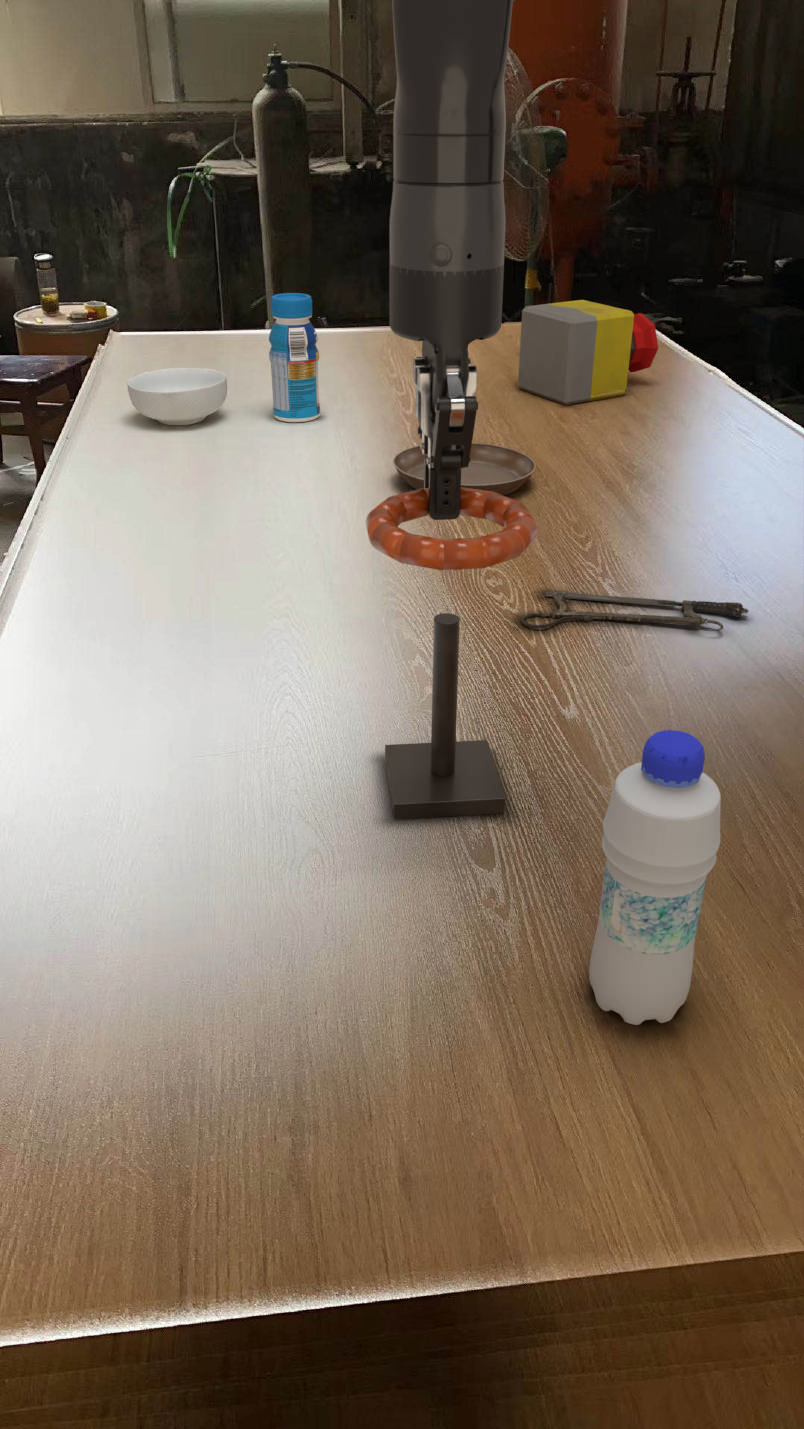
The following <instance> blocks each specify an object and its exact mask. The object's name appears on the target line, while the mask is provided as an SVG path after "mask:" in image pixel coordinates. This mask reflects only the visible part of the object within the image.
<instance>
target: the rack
mask: <svg viewBox="0 0 804 1429" xmlns="http://www.w3.org/2000/svg"><path fill="white" fill-rule="evenodd" d="M460 621H461V619H460V616H458V615H457V614H454V613H451V612H442V613H438V614H436V615H434V617H433V631H432V632H433V638H432V687H431V688H432V689H431V690H432V691H431V693H432V695H431V735H430V736H431V737H430V739H431V742H417V743H398V744H397V743H393V744H385V745H384V762H385V763H384V764H385V769H386V773H387V774H386V775H387V782H388V789H389V796H390V802H391V809H392V817H393V819H394V820H404V819H405V820H406V819H407V820H408V819H425V818H444V817H462V816H481V815H482V816H483V815H498V814H500V815H501V814H505V810H506V796H505V793H504V790H503V786H502V783H501V780H500V777H499V774H498V770H497V767H496V765H495V760H494V757H493V754H492V751H491V748H490V744H489V741H488V739H483V740H481V739H479V740H459V741H457V718H458V717H457V714H458V685H459V683H458V682H459V653H460V652H459V651H460V625H461V624H460Z"/></svg>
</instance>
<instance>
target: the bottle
mask: <svg viewBox="0 0 804 1429" xmlns="http://www.w3.org/2000/svg"><path fill="white" fill-rule="evenodd" d="M642 749H643V750H642V756H641V761H640V762H636V763H634V764H631V765H628V766H627V767H625V768H624V769H623V770H622V771H620V773H619V774H617V777H616V779H615V781H614V784H613V788H612V792H611V795H610V799H609V802H608V806H607V810H606V812H605V815H604V818H603V821H602V831H603V835H602V838H601V846H602V847H601V848H602V851H603V854H604V855H605V863H604V871H603V880H602V888H601V895H600V902H599V903H600V904H599V913H598V921H597V927H596V930H595V936H594V940H593V943H592V950H591V953H590V960H589V968H588V978H589V979H588V981H589V985H590V986H591V988H592V991H593V994H594V997H595V1002H596V1004H597V1005H598V1007H599V1008H600V1009H601V1010H602V1011H604V1012H609V1011H613V1012H615V1013H617V1014H619V1015H620V1016H621V1018H622V1019H623V1021H624V1022H625V1023H627V1024H630V1025H634V1026H639V1025H641V1024H642V1023H643V1022H644V1021H648V1020H649V1021H651V1020H656V1021H657V1022H658V1023H660V1024H663V1023H667V1022H670V1021H671V1020H673V1018H674V1017H675V1015H676V1013H677V1011H678V1010H679V1009H680V1008H681V1006H683V1005H684V1004H685V1002H686V1000H687V999H688V996H689V992H690V987H691V982H692V975H693V968H694V954H695V942H696V935H697V932H698V925H699V921H700V915H701V910H702V905H703V900H704V893H705V889H706V888H705V887H706V883H707V882H706V881H707V876H708V874H709V873H710V872H711V871H712V870H713V868H714V866H715V865H716V861H717V852H718V850H719V848H720V845H721V806H722V805H721V802H722V799H721V792H720V789H719V786H718V785H717V784H716V782H715V781H714V780H713V779H712V778H711V777H710V776H709V775H707V774H706V773H705V772H704V765H705V760H706V755H705V747H704V746H703V744H702V742H701V741H700V739H698V738H697V737H695V736H694V735H692V734H690V733H688V732H685V731H680V730H676V729H665V730H660V731H657V732H655V733H653V734H652V735H651V736H649V738H647V740H646V741H645V743H644V746H643V748H642Z"/></svg>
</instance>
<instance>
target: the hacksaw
mask: <svg viewBox="0 0 804 1429" xmlns="http://www.w3.org/2000/svg"><path fill="white" fill-rule="evenodd" d="M544 596H545V598H553V599H554V602H555V604H556V605H557V606H558V609H556V611H555V612H553V611H552V612H549V613H544V612H543V613H542V612H538V613H536V612H531V613H528V614H525V615H522V617H520V622H521V624H522V625H523V626H525V627H528V628H530V629H546V628H549V627H552V626H554V625H557V624H558V623H561V622H564V621H571V620H574V621H586V622H590V621H593V620H608V621H613V620H614V621H627V622H629V621H630V622H638V623H640V622H646V623H653V624H654V623H660V624H674V625H681V626H694V628H696V629H699V630H702V631H706V632H720V631H722V630H723V629H724V625H723V623H722V622H720V621H718V620H713V619H708V618H707V617H706V618H704V617H702V615H700V614H697V613H696V612H700V613H701V612H702V613H710V614H718V615H725V616H728V617H733V618H734V617H735V618H740V617H742V614H748V613H749V611H750V610H749V609H748V608H745V607H743V606H744V605H743V604H742V602H732V601H730V602H729V601H725V602H724V601H723V602H720V601H719V602H717V601H706V600H705V601H704V600H698V601H696V600H682V602H681V601H676V600H669V599H655V598H640V597H627V596H615V595H603V594H600V595H599V594H588V593H578V592H577V593H576V592H574V593H573V592H567V591H564V590H563V591H560V590H557V591H550V590H549V591H548V590H547V591H546V592H545V595H544ZM571 599H572V600H573V599H574V600H581V601H582V600H584V601H585V600H586V601H597V602H608V603H609V602H612V603H622V604H623V603H624V604H634V605H635V604H636V605H637V604H638V605H650V606H651V605H652V606H664V607H681V609H677V612H680V611H682V610H683V614H684V616H676V615H675V616H673V615H672V616H671V615H655V614H638V613H637V614H636V613H635V614H634V613H633V614H632V613H615V612H599V611H598V612H595V611H585V612H584V611H583V612H582V611H568V607H567V605H566V602H569V601H570V600H571ZM564 601H565V602H564ZM531 617H544V618H545V617H549V618H552V619H555V620H553V621H551V622H548V623H545V624H532V623H529V622H526V620H525V619H528V618H531ZM708 624H713V625H718V626H719V628H718V629H704V628H700V627H698V626H700V625H708Z"/></svg>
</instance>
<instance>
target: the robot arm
mask: <svg viewBox="0 0 804 1429" xmlns="http://www.w3.org/2000/svg"><path fill="white" fill-rule="evenodd" d="M516 1H517V0H391V4H392V25H393V26H392V27H393V39H394V40H393V44H394V59H395V70H396V72H395V73H396V86H395V94H394V104H393V107H394V108H393V115H392V116H393V117H392V179H393V181H392V193H391V202H390V208H389V210H390V211H389V218H388V219H389V220H388V221H389V223H388V224H389V225H388V238H389V239H388V247H389V248H388V252H389V255H388V256H389V257H388V258H389V261H388V262H389V264H388V265H389V266H388V267H389V270H388V272H389V273H388V275H389V276H388V277H389V280H388V281H389V282H388V283H389V286H388V287H389V289H388V290H389V292H388V293H389V295H388V297H389V298H388V300H389V306H388V307H389V327H390V330H391V332H392V333H394V335H396V336H398V337H400V338H402V339H406V340H410V341H415V342H421V344H422V346H421V356H416V358H413V359H412V378H413V381H414V384H415V418H416V419H417V423H418V427H417V435H419V439H420V440H421V442H419V446H420V448H421V450H422V453H423V454H428V456H424V488H429V500H428V503H429V508H428V512H429V515H430V516H429V517H430V519H432V520H433V521H446V520H448V521H449V520H456V519H458V518H459V517H460V516H461V515H460V493H461V469H463V468H464V467H468V465H469V462H470V452H471V445H472V443H473V438H474V430H475V424H476V417H477V410H478V409H479V402H478V400H477V396H476V395H474V394H475V393H476V391H477V389H478V369H477V365H472V361H471V360H472V359H471V357H470V355H469V345H470V344H471V343H472V342H474V341H476V340H479V341H484V340H488V339H491V338H492V337H494V336H496V335H497V334H498V333H499V332H500V330H501V328H502V321H503V320H502V318H503V298H504V297H503V296H504V276H505V275H504V274H505V253H506V231H507V217H506V215H507V214H506V204H505V182H504V181H503V180H504V179H505V166H506V165H505V164H506V142H507V134H506V133H507V104H506V103H507V102H506V88H505V86H506V84H505V83H506V82H505V79H506V71H507V70H506V68H507V62H508V55H509V54H508V53H509V44H510V36H511V35H510V33H511V24H512V14H513V3H514V2H516Z"/></svg>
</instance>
